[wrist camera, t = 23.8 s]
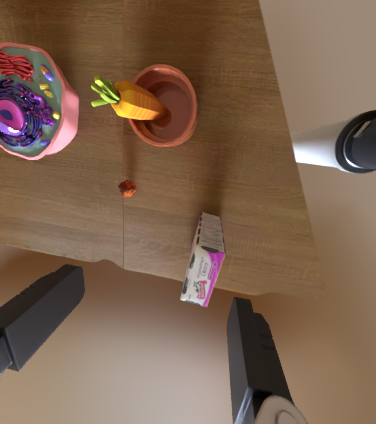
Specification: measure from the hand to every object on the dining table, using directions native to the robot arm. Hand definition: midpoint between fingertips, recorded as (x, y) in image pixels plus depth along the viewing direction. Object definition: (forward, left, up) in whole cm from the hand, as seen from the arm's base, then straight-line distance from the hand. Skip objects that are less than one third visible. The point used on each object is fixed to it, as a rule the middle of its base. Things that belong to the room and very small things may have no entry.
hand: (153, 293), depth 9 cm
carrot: (+8, -13, -32) cm, 36 cm away
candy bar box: (-3, +12, -33) cm, 35 cm away
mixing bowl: (+8, -13, -33) cm, 36 cm away
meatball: (+16, +3, -33) cm, 37 cm away
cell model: (+33, -11, -33) cm, 48 cm away
